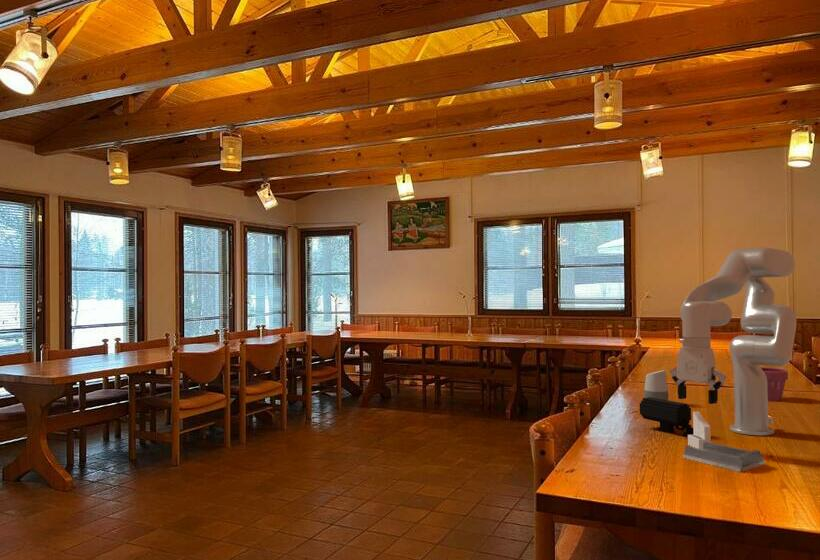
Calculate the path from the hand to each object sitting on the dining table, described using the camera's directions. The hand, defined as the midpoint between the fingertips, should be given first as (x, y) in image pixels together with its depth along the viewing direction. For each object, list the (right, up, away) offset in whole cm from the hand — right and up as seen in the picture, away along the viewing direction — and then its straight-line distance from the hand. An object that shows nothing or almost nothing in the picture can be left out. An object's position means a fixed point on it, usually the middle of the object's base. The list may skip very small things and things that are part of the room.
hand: (697, 401), depth 175 cm
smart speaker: (+16, -15, +68) cm, 72 cm away
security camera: (0, -15, +20) cm, 25 cm away
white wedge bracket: (+1, -14, 0) cm, 14 cm away
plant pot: (+67, -15, +74) cm, 101 cm away
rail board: (0, -14, -14) cm, 20 cm away
